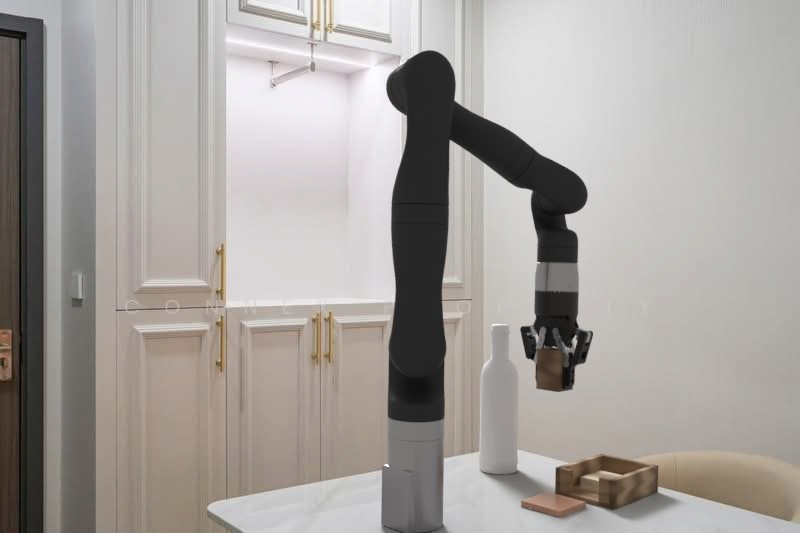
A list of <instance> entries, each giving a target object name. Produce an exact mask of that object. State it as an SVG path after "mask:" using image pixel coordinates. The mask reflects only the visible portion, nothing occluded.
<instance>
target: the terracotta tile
mask: <svg viewBox="0 0 800 533" xmlns="http://www.w3.org/2000/svg"><path fill="white" fill-rule="evenodd" d="M521 506H523V507H522V508H525V507H527V508H526V509H529V508H531V509H530V510H532V509H533V510H532V511H536V512H539V511H540V513H543V514H546V513H547V515H550V516H553V515H554V517H556V518H562V517H565V516H567V514H568V515H570V514H573V513H575V512H577V511H581V510H583V509H586V508H587V503H586V502H585V501H581V500H577V499H573V498H569V497H565V496H562V495H558V494H555V493H554V492H549V491H545V492H543V493H540V494H537V495H534V496H531V497H529V498H525V499H522V500H521V501H520V507H521Z"/></svg>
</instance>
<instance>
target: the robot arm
mask: <svg viewBox="0 0 800 533" xmlns="http://www.w3.org/2000/svg"><path fill="white" fill-rule="evenodd" d="M456 82H457V81H456V75H455V72H454V68H453V66H452V64H451V62H450V61H449V60H448V58H447V57H446V56H445V55H444V54H442V53H440V52H439V51H436V50H432V49H428V50H423V51H419V52H417V53H415V54H413V55H411V56H410V57H409V58H407V59H406V60H404V61H402V62H401V63H399V64H398V65H396V66H395V67H394V68H393V69H392V70H391V72H390V73H389V74H388V76H387V80H386V85H385V86H386V87H385V90H386V95H387V98H388V100H389V102H390V103H391V105H392V106H393V107H394V108H395V109H396V110H397V111H398V112H400V113H401V114H403V115H404V116H406V137H405V144H404V148H403V153H402V157H401V159H400V163H399V166H398V168H397V172H396V177H395V180H394V185H393V188H392V195H391V207H390V208H391V211H390V213H391V215H390V218H391V219H390V220H391V221H390V231H391V232H390V233H391V234H390V235H391V236H390V237H391V252H392V253H391V254H392V262H393V263H392V264H393V273H394V280H395V281H394V282H395V284H394V285H395V296H394V299H395V300H394V308H393V315H392V324H391V332H390V336H389V338H388V340H389V341H388V382H387V383H388V385H387V386H388V387H387V422H386V423H387V425H386V426H387V431H386V432H387V433H386V464H384V465H382V467H381V511H380V512H381V515H380V516H381V518H380V519H381V520H380V521H381V522H380V523H381V524H380V525H382V526H385V527H387V528H390V529H392V530H395V531H399V532H401V533H425V532H426V533H428V532H432V531H436V530H438V529H440V528H441V527H442V526H443V524H444V476H445V475H444V472H445V471H444V470H445V468H444V466H445V464H444V463H445V458H444V456H445V414H446V413H445V412H446V410H445V409H446V402H445V401H446V400H445V399H446V398H445V396H446V395H445V360H446V359H445V358H446V355H447V340H446V332H445V325H444V324H445V323H444V312H443V309H444V308H443V283H444V282H443V281H444V275H445V274H444V272H445V266H446V259H447V250H448V240H449V237H448V236H449V225H450V224H449V221H450V219H449V218H450V198H449V197H450V193H449V192H450V190H449V188H450V186H449V185H450V145H451V144H450V143H451V142H453V143H454V144H456V145H457V146H459V147H461V148H462V149H463V150H465V151H466V152H468V153H470V154H471V155H472V156H474V157H475V158H476V159H478V160H479V161H481V162H482V163H483V164H485V165H486V166H487V167H489V168H490V169H491V170H492V171H494V172H495V173H496V174H498V175H499V176H500V177H502V179H504V180H505V181H507V183H509V184H511V185H513V186H514V187H516V188H518V189H524V190H529V191H532V192H531V195H530V209H531V210H530V211H531V215H532V219H533V221H532V222H533V226H534V230H535V234H536V239H537V244H536V245H537V247H536V248H537V249H536V250H537V251H536V253H537V254H536V269H535V274H534V276H535V277H534V303H533V304H534V309H533V310H534V315H535V319H534V322H533V324H530V325H522V326H520V329H519V331H520V335H521V340H522V345H523V349H524V354H525V358H526V359H527V360H531V361H533V362H534V363H535V364H534V365H535V382H536V381H537V349H545V348H553V347H554V348H557V349H558V351H561V354H562V362H563V366H564V367H562V388H563V389H571V388H572V385H573V386H575V383H576V382H575V381H576V380H575V378H576V377H575V376H576V375H575V374H576V367H577V366H580V365H583V364H586V362H587V361H586V360H587V358H588V355H589V350H590V347H591V344H592V340H593V337H594V332H593V331H592V330H586V329H583V328H581V327H580V326H579V324H578V320H577V319H578V315H579V295H580V294H579V293H580V292H579V290H580V289H579V287H580V286H579V284H580V274H579V265H578V262H579V237H578V234H577V232H576V231H575V230H572V229H569V228H568V225H567V219H566V215H572V214H575V213H577V212H580V211H581V210H582V209H583V208H584V207H585V205H586V204H587V201H588V196H589V194H588V193H589V192H588V188H587V186H586V184H585V182H584V180H583V179H582V178H581V177H580V176H579V174H577V172H575V171H573V170H571V169H569V168H568V167H566V166H565V165H562V164H560V163H558V162H557V161H555V160H553V159H551V158H549V157H546V156H544V155H542V154H541V153H539V152H538V150H536V149H535V148H534V147H532V146H531V145H529V143H527V142H526V141H525V140H524V139H522V138H521V137H520V136H519V135H517V134H516V133H514V132H513V131H511V130H510V129H508V128H507V127H504V126H503V125H500V124H498V123H496V122H494V121H491V120H489V119H488V118H485V117H483V116H481V115H479V114H476V113H474V112H473V111H471V110H469V109H468V108H466V107H464V106H463V105H462V104H460V103H458V101H456V100H455V96H456V88H457V87H456V84H457V83H456ZM450 141H451V142H450ZM536 335H537V336H538V339H537V338H536ZM575 336H576V337H575ZM574 339H575V340H576V345H575V344H574ZM568 354H569V356H568Z"/></svg>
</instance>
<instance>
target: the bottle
mask: <svg viewBox="0 0 800 533" xmlns="http://www.w3.org/2000/svg"><path fill="white" fill-rule="evenodd" d="M510 333H511V330H510V326H509V324H505V323H494V324H492V325H491V329H490V336H491V337H490V339H491V340H490V359H488V360H487V361H486V362H485V363H484V364H483V366H482V368H481V373H480V383H479V384H480V386H479V387H480V394H479V395H480V396H479V402H480V403H479V449H478V451H479V453H478V468H479V470H480V471H481V472H484V473H486V474H490V473H492V475H499V474H502V475H510V474H511V473H512V474H514V472H515V473H516V472H517V471H518V461H519V456H518V438H519V437H518V436H519V435H518V434H519V432H518V430H519V426H518V425H519V374H518V369H517V366H516V365H515V364H514V363H513V361H511V359H510V358H509V357H510V356H509V353H510V349H509V348H510V346H509V344H510ZM512 474H511V475H512Z"/></svg>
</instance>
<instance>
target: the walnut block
mask: <svg viewBox="0 0 800 533" xmlns="http://www.w3.org/2000/svg"><path fill="white" fill-rule="evenodd" d="M568 356H569V354H568ZM562 367H564V366H563V362H562V354H561V351H558V349H557V347H554V346H553V348H545V349H537V381H536V380H535V382H536V387H535V388H536V390H543V391H549V392H550V391H551V392H556V393H561V392H566V391H573V390H574V389H573V388H574V385H572V388H571V389H563V388H562Z"/></svg>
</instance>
